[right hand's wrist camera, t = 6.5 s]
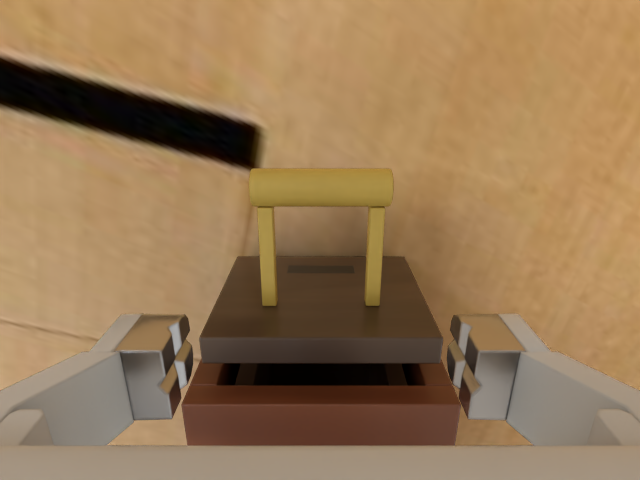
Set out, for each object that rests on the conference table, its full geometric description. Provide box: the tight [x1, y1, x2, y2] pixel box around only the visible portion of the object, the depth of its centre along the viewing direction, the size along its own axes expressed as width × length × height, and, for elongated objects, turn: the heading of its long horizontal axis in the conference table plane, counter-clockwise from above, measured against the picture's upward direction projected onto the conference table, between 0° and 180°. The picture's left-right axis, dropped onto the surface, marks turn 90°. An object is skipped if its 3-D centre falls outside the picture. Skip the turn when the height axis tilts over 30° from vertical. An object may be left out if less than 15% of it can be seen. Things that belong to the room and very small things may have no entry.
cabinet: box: [182, 358, 461, 446], centre depth 23 cm, size 17×10×10 cm, turn 0°
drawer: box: [199, 169, 443, 386], centre depth 21 cm, size 22×9×8 cm, turn 0°
